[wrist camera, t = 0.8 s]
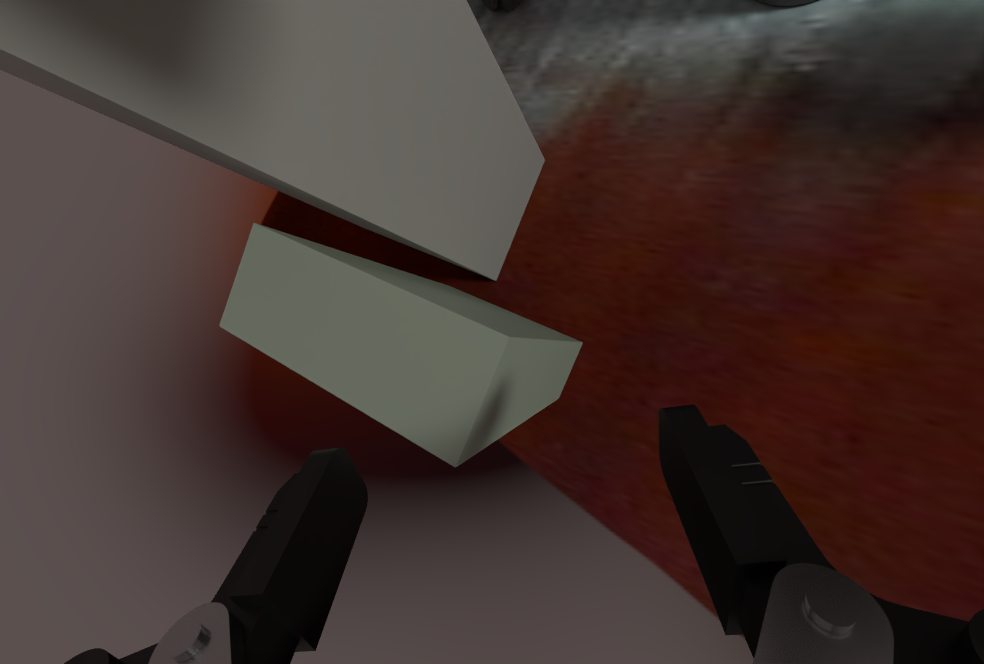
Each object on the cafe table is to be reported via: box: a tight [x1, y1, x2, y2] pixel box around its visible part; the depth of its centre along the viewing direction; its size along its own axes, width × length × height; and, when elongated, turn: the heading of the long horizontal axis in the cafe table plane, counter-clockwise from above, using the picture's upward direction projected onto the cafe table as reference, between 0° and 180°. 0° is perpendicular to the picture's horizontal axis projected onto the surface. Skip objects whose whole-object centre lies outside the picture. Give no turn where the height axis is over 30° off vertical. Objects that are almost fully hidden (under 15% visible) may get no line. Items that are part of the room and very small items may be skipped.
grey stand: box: [0, 0, 545, 281], centre depth 21 cm, size 11×15×34 cm
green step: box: [220, 223, 583, 467], centre depth 25 cm, size 5×13×20 cm, turn 67°
